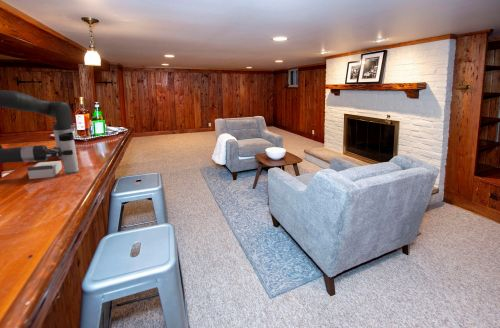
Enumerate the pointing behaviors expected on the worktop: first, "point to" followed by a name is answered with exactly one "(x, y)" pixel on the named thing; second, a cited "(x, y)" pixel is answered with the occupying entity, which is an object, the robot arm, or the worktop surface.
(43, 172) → the dock
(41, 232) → the worktop surface
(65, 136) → the travel mug
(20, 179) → the worktop surface
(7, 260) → the worktop surface
